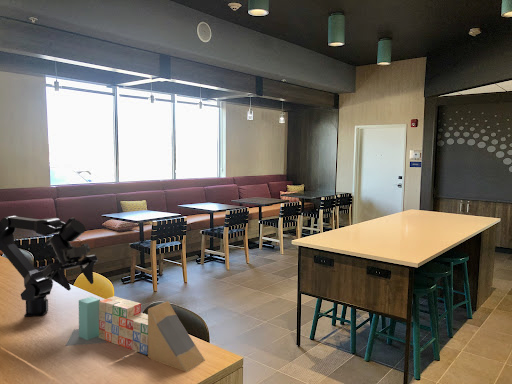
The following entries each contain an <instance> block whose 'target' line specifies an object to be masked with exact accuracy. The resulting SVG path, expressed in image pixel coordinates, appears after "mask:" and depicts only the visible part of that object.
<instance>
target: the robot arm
mask: <svg viewBox="0 0 512 384" xmlns="http://www.w3.org/2000/svg"><path fill="white" fill-rule="evenodd" d="M17 229H20V230H29V231H33V232H35V233H36V234H37V235H40V236H44V237H45V236H51V237H48V238H47V240H46V242H45V245H46V246H49V245H50V246H52V248H53V251H54V252H55V255H54V259H55V260H58V261H55V262H51V263H48V265H46V267H45V268H44V269H43V270H38V269H36V267H35V266H34V265H33V264H32V263H31V261H30V260H29V259H28V258H27V257H26V256H25V254H24V253H23V252H22V250H21V249H20V248H19V247H18V246H17V244H15V235H14V233H16V231H17ZM85 232H86V227H85V225H84V223H82V222H81V221H80V220H78V219H76V218H75V217H71V218H69V219H67V221H66V222H64V221H61V219H60V218H58V217H52V218H51V217H50V218H42V219H38V218H31V217H23V216H17V215H10V216H4V217H3V218H1V220H0V251H1V252H2V254H4V256H5V257H6V258H7V259H8V261H9V262H10V264H11V265H12V266H13V267H14V268H15V269H16V271H17V272H18V273H19V275H20V276H21V277H22V278H23V287H24V288H25V289H24V290H23V291H22V292H21V293H20V297H21V300H22V301H25V313H24V315H23V316H24V317H25V318H26V317H41V316H42V317H43V316H44V315H45V314H46V313H47V312H48V311H49V299H48V298H47V296H48V295H50V294H51V291H52V289H53V285H54V284H53V283H54V282H56V284H59V285H60V286H61V287H63V288H64V289H65V290H66V291H69V292H70V291H71V289H72V288H71V285H70V282H69V280H68V279H67V277H66V275H65V273H66V271H65V270H70V269H74V268H80V269H82V270H81V273H82V274H83V275H84V277H85V278H86V279H87V281H88V283H89V284H90V285H93V284H94V272H93V271H94V266H95V265H96V264H97V262H98V261H99V259H98V257H97V255H96V254H91V255H88V253H90V252H91V247H90V245H89V243H83V244H80V246H78V247H76V246H75V245H72V243H73V242H74V241H75V240H77V239H78V238H79V237H81V235H83V234H84V233H85ZM82 256H84V257H82ZM82 258H83V259H82Z"/></svg>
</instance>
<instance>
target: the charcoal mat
mask: <svg viewBox="0 0 512 384" xmlns="http://www.w3.org/2000/svg"><path fill="white" fill-rule="evenodd" d="M107 342H108V341H106V340H104V339H101V338H99V336H97V337H95V338H92V339H89V340H86V339H83V338H81V337H79V328H77V329H73V330H72V333H71V334H70V336H69V338H68V339H67V341H66V343H65V347H67V346H69V347H70V346H77V345H78V346H80V345H82V346H83V345H93V344H94V345H95V344H96V345H97V344H107Z"/></svg>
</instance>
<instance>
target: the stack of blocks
mask: <svg viewBox="0 0 512 384" xmlns="http://www.w3.org/2000/svg"><path fill="white" fill-rule="evenodd" d="M141 306H142V303H140V302H137V301H133V300H129V299H126V298H121V297H119V296H115V295H113V296H111V297H108V298H105V299H102V300H100V301H99V338H101V339H104V340H106V341H107V342H109V343H112V344H115V345H117V346H120V347H121V346H122V347H124V348H127V349H130V350H132V351H135V352H138V353H140V354H143V355H146V356H148V313H145V312H144V313H143V312H141V311H142V307H141Z"/></svg>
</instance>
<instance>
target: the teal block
mask: <svg viewBox="0 0 512 384" xmlns="http://www.w3.org/2000/svg"><path fill="white" fill-rule="evenodd" d="M99 301H101V299H100V298H97V297H94V296H89V297H86V298H82V299H79V300H78V329H79V337H81V338H83V339H86V340H89V339H92V338H95V337H97V336H99Z"/></svg>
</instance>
